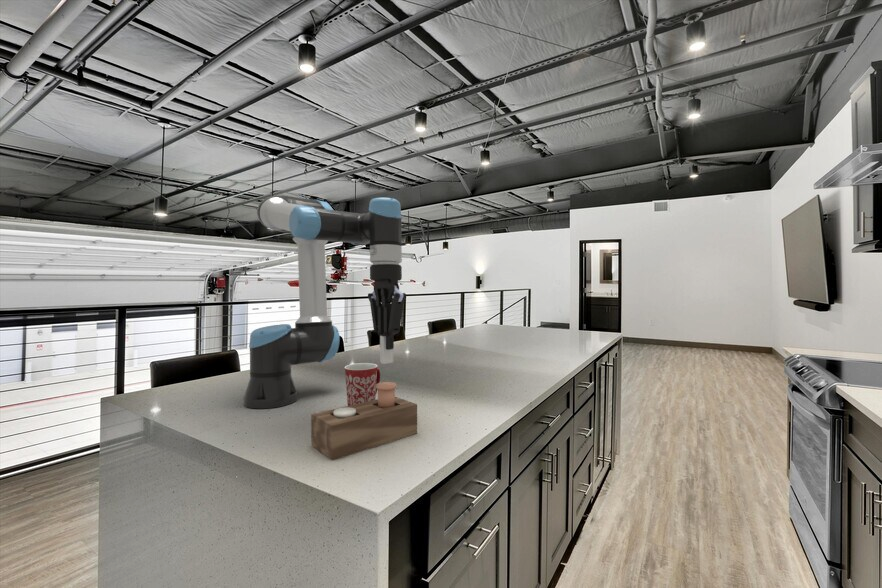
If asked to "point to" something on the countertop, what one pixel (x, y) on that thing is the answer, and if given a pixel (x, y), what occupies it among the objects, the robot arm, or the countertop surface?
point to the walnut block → (362, 427)
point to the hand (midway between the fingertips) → (386, 362)
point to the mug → (361, 382)
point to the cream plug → (344, 412)
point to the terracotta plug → (386, 394)
